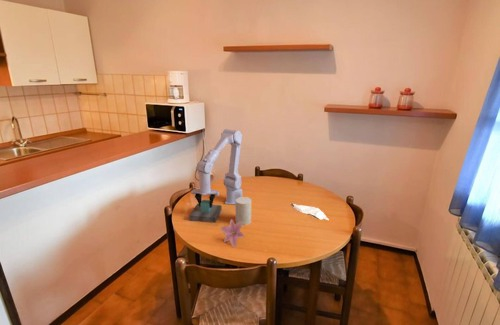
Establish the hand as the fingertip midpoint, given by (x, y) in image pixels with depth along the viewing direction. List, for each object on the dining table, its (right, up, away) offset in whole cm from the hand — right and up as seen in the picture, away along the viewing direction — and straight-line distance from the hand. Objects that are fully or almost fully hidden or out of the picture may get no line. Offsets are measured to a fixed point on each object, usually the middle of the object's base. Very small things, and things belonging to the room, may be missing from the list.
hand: (205, 206), depth 149 cm
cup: (+20, -7, -4) cm, 22 cm away
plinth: (0, -5, +2) cm, 5 cm away
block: (0, -2, +1) cm, 2 cm away
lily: (+16, -13, -21) cm, 29 cm away
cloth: (+58, -5, +8) cm, 59 cm away
